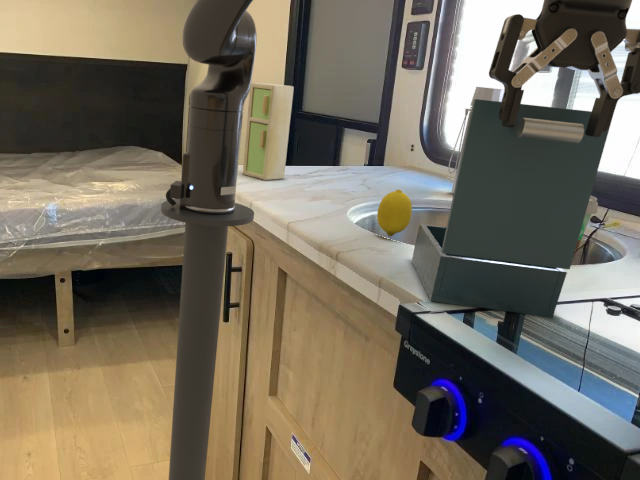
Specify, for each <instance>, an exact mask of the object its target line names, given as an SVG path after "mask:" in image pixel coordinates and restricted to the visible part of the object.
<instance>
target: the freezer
mask: <svg viewBox="0 0 640 480" xmlns="http://www.w3.org/2000/svg"><path fill="white" fill-rule="evenodd" d="M446 227H447V226H443V225H436V224H427V223H419V225H418V230H417V234H416V238H415V244H414V248H413V253H412V257H411V264H412V265H413V267H414V269H415V271H416V274H417V276H418V278H419V280H420V282H421V284H422V286H423V289H424V291H425V292H426V294H427V296H428V299H429V301H430V302H433V303H434V302H435V303H442V304H449V305H455V306H456V305H458V306H464V307H472V308H478V309H479V308H480V309H488V310H495V311H502V312H508V313H509V312H510V313H517V314H525V315H533V316H539V317H548V318H554V315H555V312H556V309H557V305H558V301H559V299H560V296H561V293H562V289H563V286H564V283H565V281H566V277H567V275H568V272H567V271H566V269H562V268H554V267H546V266H538V265H531V264H523V263H515V262H507V261H499V260H492V259H484V258H476V257H468V256H460V255H452V254H445V253H442V252H441V251H442V246H443V241H444V237H445V232H446Z"/></svg>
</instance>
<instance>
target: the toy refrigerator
mask: <svg viewBox="0 0 640 480" xmlns="http://www.w3.org/2000/svg"><path fill="white" fill-rule="evenodd" d="M294 88H295V87H294V86H293V85H285V84H277V83H266V82H265V83H264V82H251V87H250V91H249V94H248V96H249V97H248V107H247V119H246V131H245V141H244V142H245V143H244V153H243V165H242V166H243V167H242V174H243V175H245V176H249V177H253V178H256V179H258V180H259V179H260V180H264V181H269V180H270V181H271V180H283V179H284V178H285V172H286V164H287V163H286V162H287V153H288V144H289V136H290V135H289V134H290V126H291V118H292V117H291V116H292V110H293V109H292V108H293V100H294V90H295V89H294Z"/></svg>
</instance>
